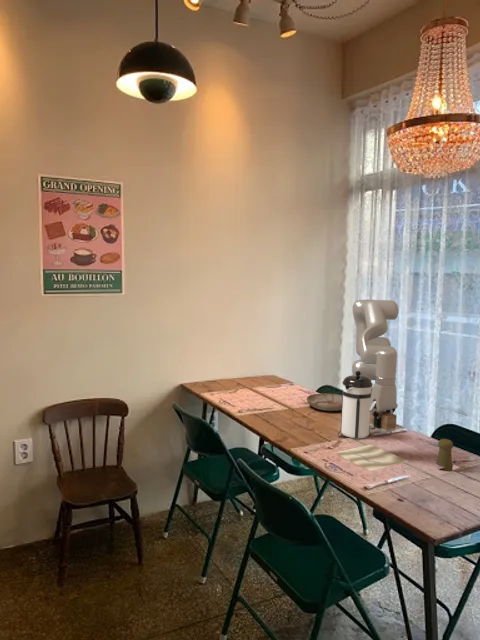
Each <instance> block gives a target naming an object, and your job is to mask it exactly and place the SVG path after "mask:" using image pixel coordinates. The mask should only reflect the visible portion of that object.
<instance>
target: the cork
mask: <svg viewBox="0 0 480 640" xmlns="http://www.w3.org/2000/svg"><path fill="white" fill-rule="evenodd" d="M437 445H438V448H439V450H438V453H437V458H436V461H435V462H436V465H437V466H439V467H441V468H438V470H439V471H442V472H451V471H453V470H454V469H453V459H452V458H453V456H452V449H453V448H454V443H453V441H452V440H450V439H448V438H441V439H439V440H438V443H437Z"/></svg>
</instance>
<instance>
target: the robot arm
mask: <svg viewBox="0 0 480 640" xmlns="http://www.w3.org/2000/svg"><path fill="white" fill-rule="evenodd" d="M399 311H400V309H399V305H398V303H397V302H396V301H395V300H392V299H390V300H388V299H385V300H384V299H358V300H355V301H354V302H353V304H352V316H353V320H354V323H355V327H356V328H355V329H356V334H355V336H356V337H355V350H356V354H357V356H360V359H358V360H355V361H353V363H352V367H351V368H352V369H351V370H352V375H356V374H355V373H356V371H360V373H361V374H360V376H364V377H367V378H369V379H370V380H371V381H375V382H374V384H373V386H372V393H371V400H370V408H369V412H370V413H371V414H372V415H373V417H374V427H373V426H370V430H371V429H374V428H375V427H376V428H375V429H377V428H381V418H380V416H381V412H382V411H386V412H389V413H392V414H394V412H395V411H396V409H397V408H398V407H399V405H398V403H397V386H396V380H397V377H396V376H397V366H398V365H397V364H398V363H397V362H398V352H397V350H396V348H395V347H394V346H392V344H391V341H390V339H389V338H387V337H385V336H384V335H385V334H386V333H387V331H388V329H389V328H388V327H389V326H388V322H387V320H390V321H391V320H396V319H397V318H398V316H399ZM377 411H378V414H377Z"/></svg>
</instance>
